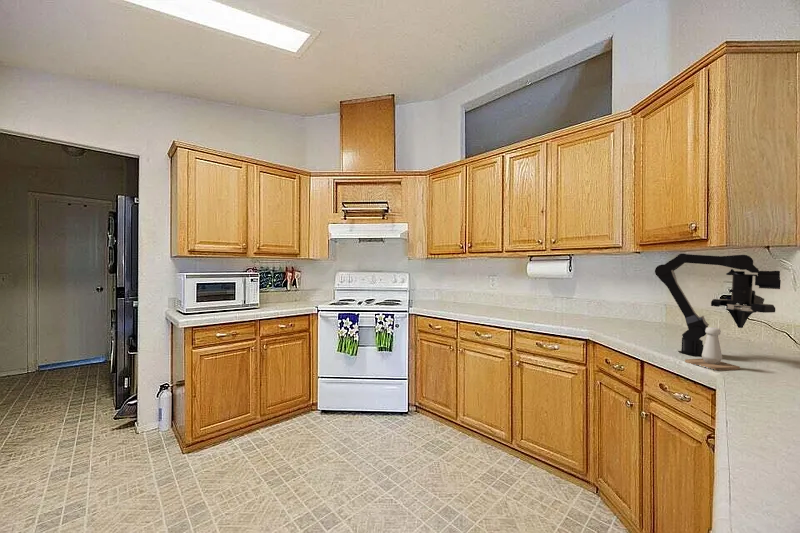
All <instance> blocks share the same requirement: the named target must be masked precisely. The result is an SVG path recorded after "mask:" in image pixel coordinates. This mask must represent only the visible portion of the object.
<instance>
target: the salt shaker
mask: <svg viewBox="0 0 800 533" xmlns="http://www.w3.org/2000/svg"><path fill="white" fill-rule="evenodd" d="M705 332H706V333H707V334H706V338H705V341H704V344H703V352H702V355H701V357H702V358H701V359H703V360H704V362H706V363H710V364H719V363H720V361H721V362H722V360H723V354H722V349H721V345H720V344H721V343H720V338H719V336H720V335H721V333H722V332H721V329H720V328H718V327H713V326H708V327H707V328H706V330H705Z"/></svg>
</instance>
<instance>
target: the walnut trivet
mask: <svg viewBox="0 0 800 533" xmlns="http://www.w3.org/2000/svg"><path fill="white" fill-rule="evenodd" d="M684 362H685V363H687V364H690V363H691V365H694V364H696V365H695V366H697V365H701V366H705V367H708V368H711V369H714V370H722V371H733V370H734V371H735V370H741V366H739V365H735V364H732V363H727V362H724V361H722V360H721V361H720V363H719V364H710V363H706V362H704V360H703V358H689V359H688V358H685V360H684ZM711 369H710V370H711ZM714 370H713V371H714Z"/></svg>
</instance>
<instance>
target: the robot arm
mask: <svg viewBox="0 0 800 533" xmlns="http://www.w3.org/2000/svg"><path fill="white" fill-rule="evenodd" d="M684 264H699V265H712V266H713V265H714V266H722V267H727V268H731V269H730V270H729V271H728V272H726V273H725V275H726V276H732V280H731V282H732V284H731V289H729V291H728V292H729V293H731V299H727V298H726V299H723V298H713V299H712V300H711V301H710V306H711V307H722V306H723V307H727V308H725V310H726V311H728V313H729V314H730V316H731V317H732V319H733V321H734V323H735V324H736V327H737V328H740V329H743V328H744V326H745V324H746V322H747V320H748V319H749V317H750V316H751V315H752V314H753V313H754V314H755V313H762V314H763V313H776V307H775V305H774V304H769V303H764V302H765V298H764V297H761V296H759V295H757V294H756V291H755V290H753V281H754V285H755V286H757V287H758V289H767V290H781V276H780V275H781V271H780V270H759V268H758V267H756V266H755V265H754V260H753V258H752V257H751V256H750V255H748V254H734V255H720V256H719V255H705V254H704V255H703V254H689V253H688V254H687V253H680V254H678V255H676V256H675V257H674V258H672V259H671V260H669V261H667V262H666V263H664V264H659V265H657V266H656V267H655V269H654V274H655V276H656V277H657V278H658V279H659V280H660V281H661V282H662V284H664V285H665V286H666V288H667V289H668V290H669V293H670V294H671V296H672V297H673V299H674V301H675V303H676V304H677V306H678V308H679V309H680V312H682V314H683V316H684V319H685V322H686V326H687V330H686V331H684V332H683V333H682V334H681V349H680V350H678V352H679V353H680V354H685V355H688V356H692V357H696V356H698V357H699V356H700V357H702V352H703V348H704V344H703V342H704V341H703V340H702V339H701V338H703V337H705V336H707V333H706V332H705V330H706V328H707V327H709V326H710V324H709V323H708V322H707V320H706V319H705V315H702V316H699V315H698V314H697V313H696V312H695V310H694V308H693V306H692V305H691V303H690V302H689V300H688V298H687V296H686V295H685V292H683V290H682V288H681V287H680V285H679V283H678V280H677V277H676V273H675V271H677V269H679V268H680V267H681V266H683V265H684ZM735 269H736V270H735ZM739 270H741V271H739ZM745 270H746V271H748V272H749V273H751V274H749V273H746V271H745ZM752 273H753V274H752ZM754 277H755V278H754Z"/></svg>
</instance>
